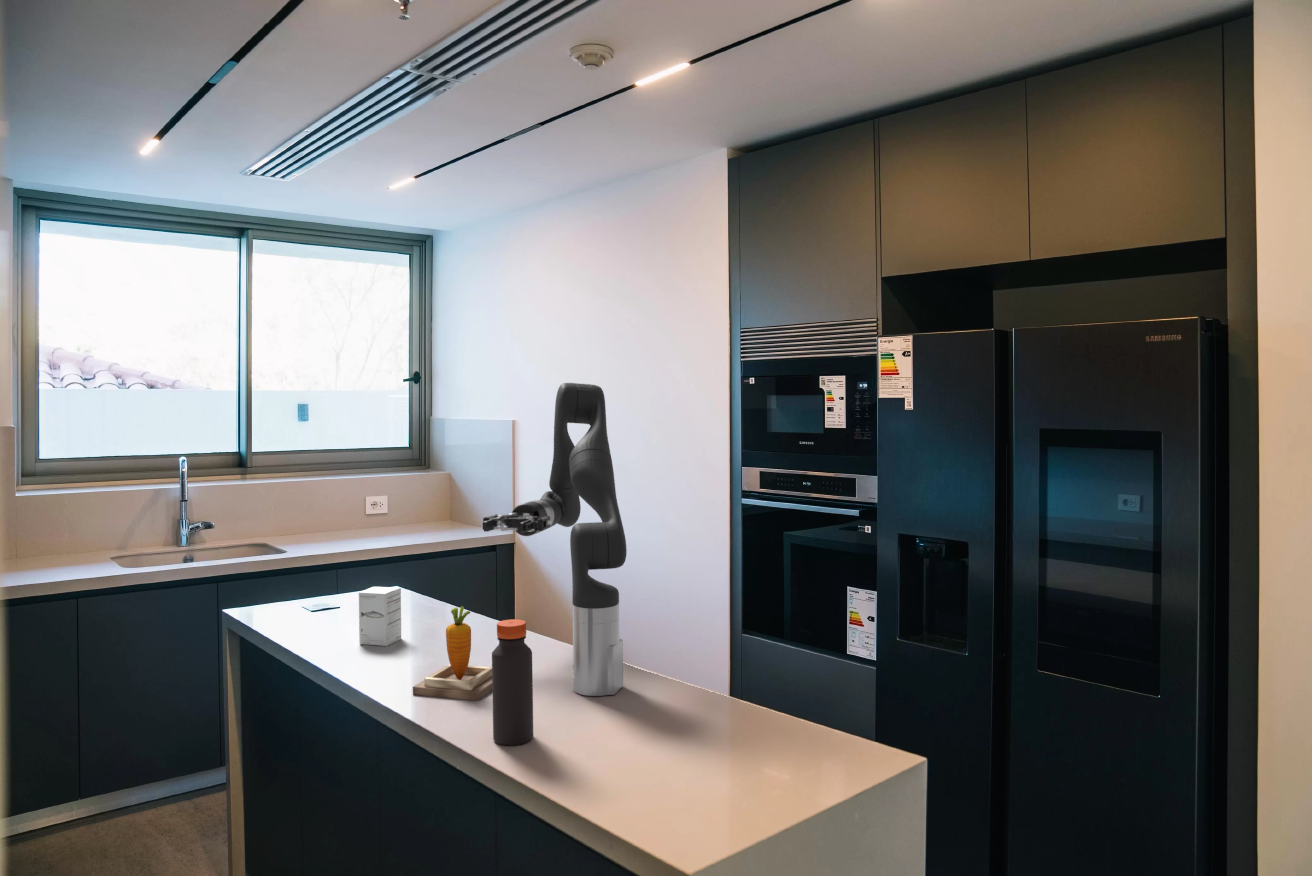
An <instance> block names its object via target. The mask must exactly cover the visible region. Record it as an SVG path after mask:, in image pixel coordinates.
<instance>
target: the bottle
mask: <svg viewBox="0 0 1312 876" xmlns="http://www.w3.org/2000/svg"><path fill="white" fill-rule="evenodd" d="M526 635H527V622H526V621H525V620H523V619H517V618H516V619H515V618H514V619H512V618H511V619H503V620H501V621H498V622H497V623H496V637H497V640H498V645H497V646H495V648H494V649H493V651H492V652H491V667H492V733H493V734H492V736H493V737H492V739H493V741H494V742H495V743H496V744H497V745H500V746H506V747H507V746H509V747H510V746H511V747H513V746H520V745H524V744H527V743H528V742H531V740H532V739H533V738H534V699H533V697H534V695H533V693H534V691H533V689H534V688H533V680H534V679H533V651H532V649H531V648H530V647H529V645H527V643H525V639H526V638H527V636H526Z"/></svg>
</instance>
